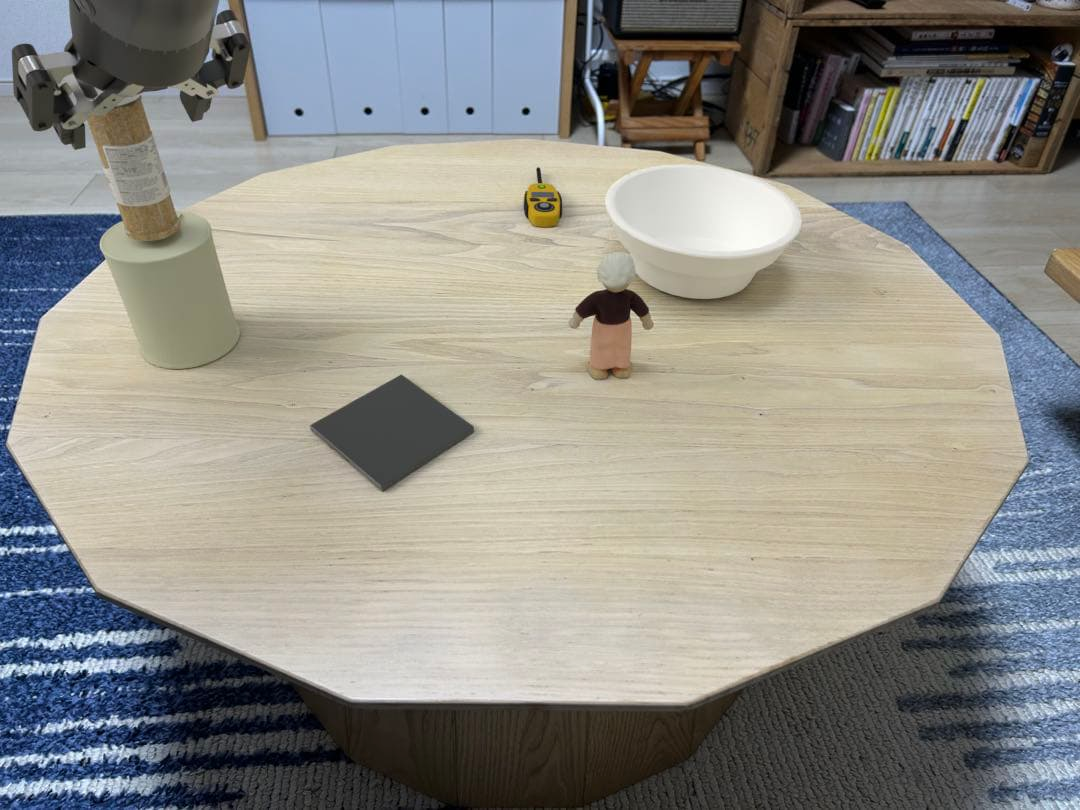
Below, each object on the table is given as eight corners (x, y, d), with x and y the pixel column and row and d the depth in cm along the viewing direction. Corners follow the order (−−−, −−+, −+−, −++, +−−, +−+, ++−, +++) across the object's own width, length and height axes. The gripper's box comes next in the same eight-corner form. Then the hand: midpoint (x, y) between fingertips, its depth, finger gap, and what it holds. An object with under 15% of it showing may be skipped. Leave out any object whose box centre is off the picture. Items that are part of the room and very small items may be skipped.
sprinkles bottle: (132, 219, 68) (77, 61, 59) (186, 216, 69) (139, 60, 60) (120, 245, 65) (60, 82, 56) (177, 242, 66) (126, 80, 57)
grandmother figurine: (634, 352, 76) (651, 238, 68) (648, 376, 73) (668, 261, 65) (560, 363, 74) (568, 248, 66) (572, 388, 72) (582, 271, 63)
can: (254, 317, 78) (227, 209, 70) (217, 373, 71) (182, 261, 63) (167, 309, 79) (129, 201, 71) (121, 364, 72) (74, 252, 64)
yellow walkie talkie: (525, 213, 93) (520, 159, 104) (525, 227, 94) (520, 173, 105) (565, 213, 93) (556, 160, 104) (564, 228, 94) (555, 173, 105)
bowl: (640, 210, 98) (648, 149, 93) (803, 255, 91) (822, 191, 86) (567, 288, 84) (571, 220, 79) (753, 347, 77) (773, 278, 72)
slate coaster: (382, 492, 61) (381, 487, 61) (310, 430, 66) (309, 425, 66) (474, 431, 67) (474, 426, 66) (401, 378, 72) (401, 373, 71)
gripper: (234, -90, 46) (202, 58, 60) (-32, -65, 39) (1, 97, 53) (292, 26, 47) (248, 145, 61) (41, 72, 40) (56, 196, 54)
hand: (133, 123), depth 57 cm, fingers open, 8 cm apart
